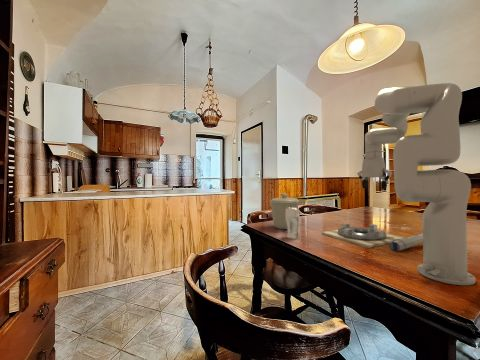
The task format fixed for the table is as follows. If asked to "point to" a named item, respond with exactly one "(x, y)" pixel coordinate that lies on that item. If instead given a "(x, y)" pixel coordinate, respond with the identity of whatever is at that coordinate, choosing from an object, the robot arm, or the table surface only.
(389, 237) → the nut board
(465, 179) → the robot arm
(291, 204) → the canister
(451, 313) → the table surface
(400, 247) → the grey flashlight
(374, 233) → the ring nut
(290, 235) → the beer glass
